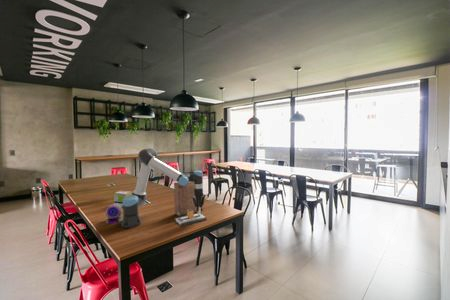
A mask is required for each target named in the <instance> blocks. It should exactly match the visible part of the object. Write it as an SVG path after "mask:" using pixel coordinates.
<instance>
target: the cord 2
mask: <svg viewBox="0 0 450 300" xmlns="http://www.w3.org/2000/svg"><path fill="white" fill-rule="evenodd" d="M204 221H207V217H205V218H202V219H198V220H194V221H190V222H186V223H181V225H180V226H181V227H184V226H187V225H192V224H196V223H200V222H204Z"/></svg>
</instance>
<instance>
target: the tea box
mask: <svg viewBox="0 0 450 300" xmlns="http://www.w3.org/2000/svg"><path fill="white" fill-rule="evenodd" d="M132 193H133V192H132V191H126V190H119V191H116V192H113V199H114V200H113V202H114V203H113V204H118V205H120V206H121V207H122V208H123V199H124V198H125V197H127V196H130V195H132Z"/></svg>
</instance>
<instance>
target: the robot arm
mask: <svg viewBox="0 0 450 300" xmlns="http://www.w3.org/2000/svg"><path fill="white" fill-rule="evenodd" d="M137 158H138V160H139V161H140V162H139V163H140V164H141V165H140V168H139V172H138V177H137V180H136V185H135V189H134V190H132V192H131V193H132V195H130V196H127V197H125V198H124V199H123V207H122V215H123V216H122V218H123V220H122V221H121V228H124V229H131V228H136V227H138V226H140V225H141V224H142V219H141V217H140V215H139V208H140V207H142V206H144V204H145V203H146V201H147V192H146V190H147V185H148V181H149V177H150V174H151V170H152V168H153V169H154V170H157V171H158V172H161V173H162V174H164V175H165V176H167V177H169V178H170V179H172V180H174V181H175V182H176V183H177V182H179V184H180V185H181V186H185V185H187V184H188V182H194V188H195V189H194V192H195V194H194V196H192V198H193V201H194V205H195V207H197V211H198V212H197V213H198V214H199V215H200V214H201V213H202V211H201V207H202V208H203V206H204V203H205V198H206V196H207V195H206V194H204V187H203V185H204V184H203V183H204V182H203V181H204V180H203V179H204V178H203V177H204V176H203V171H202V170H195V171H193V172H190V173H187V172H183V173H182V172H180V171H178V170H176V169H175V168H173V167H172V166H171V165H168V164H166V163H165V162H163V161H162V160H159V159H158V152H157V150H155V149H154V148H143V149H141V150H140V151H139V152H138V154H137ZM195 197H196V200H195ZM201 199H202V201H201ZM201 215H202V214H201Z"/></svg>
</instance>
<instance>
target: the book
mask: <svg viewBox="0 0 450 300" xmlns="http://www.w3.org/2000/svg"><path fill="white" fill-rule="evenodd" d="M173 189H174V190H173V194H174V195H173V196H174V214H175V215H176V216H177V217H180V216H184V215H187V210H189V209H192V210H193V213H198V211H197V207H195V205H194V201H193V198H192V196H194V194H195V192H194V189H195V188H194V182H188V184H187V185H185V186H181V185H180V184H179V182H177V181H176V182H174V183H173ZM195 200H196V197H195ZM201 201H202V199H201ZM202 211H203V206H202V207H201V212H202Z"/></svg>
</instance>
